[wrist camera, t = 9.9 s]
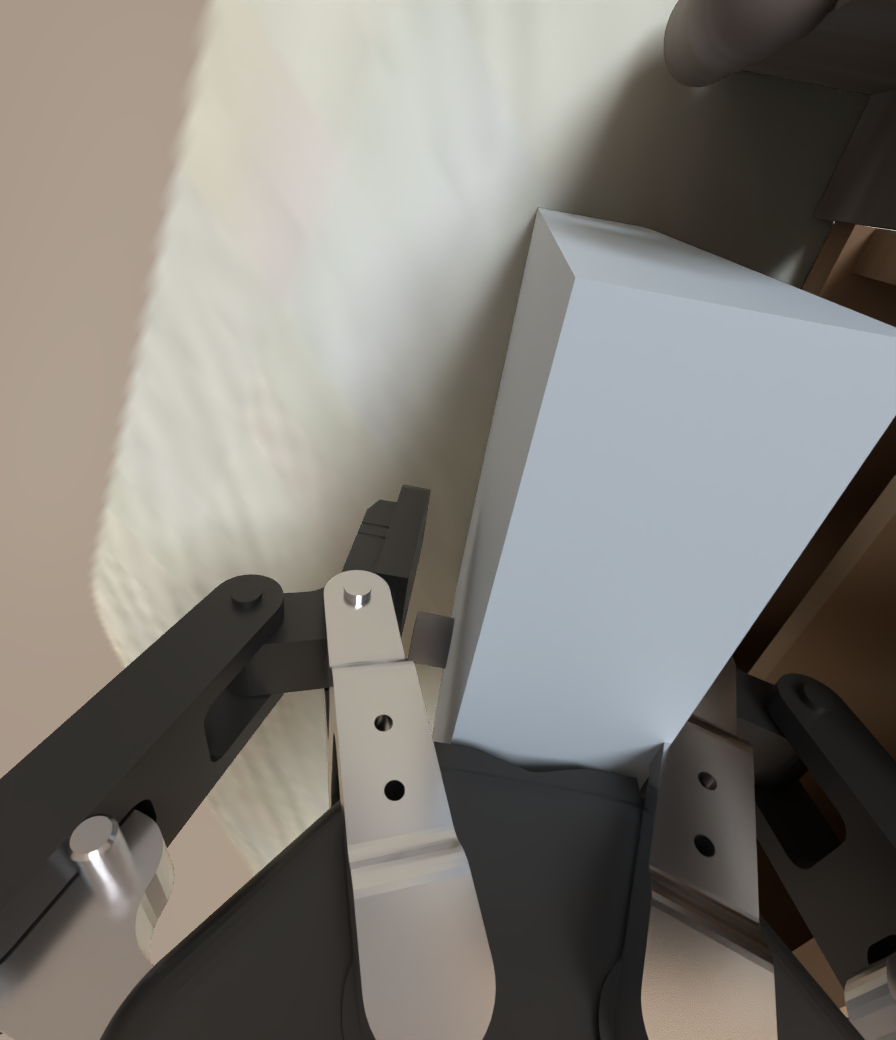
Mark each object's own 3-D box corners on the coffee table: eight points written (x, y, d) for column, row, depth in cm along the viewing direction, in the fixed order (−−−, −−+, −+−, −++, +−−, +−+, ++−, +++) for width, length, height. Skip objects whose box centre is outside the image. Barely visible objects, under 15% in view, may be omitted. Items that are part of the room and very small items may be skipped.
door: (646, 227, 14) (942, 345, 4) (525, 601, 22) (528, 952, 12) (494, 199, 14) (429, 250, 4) (428, 582, 22) (351, 915, 12)
